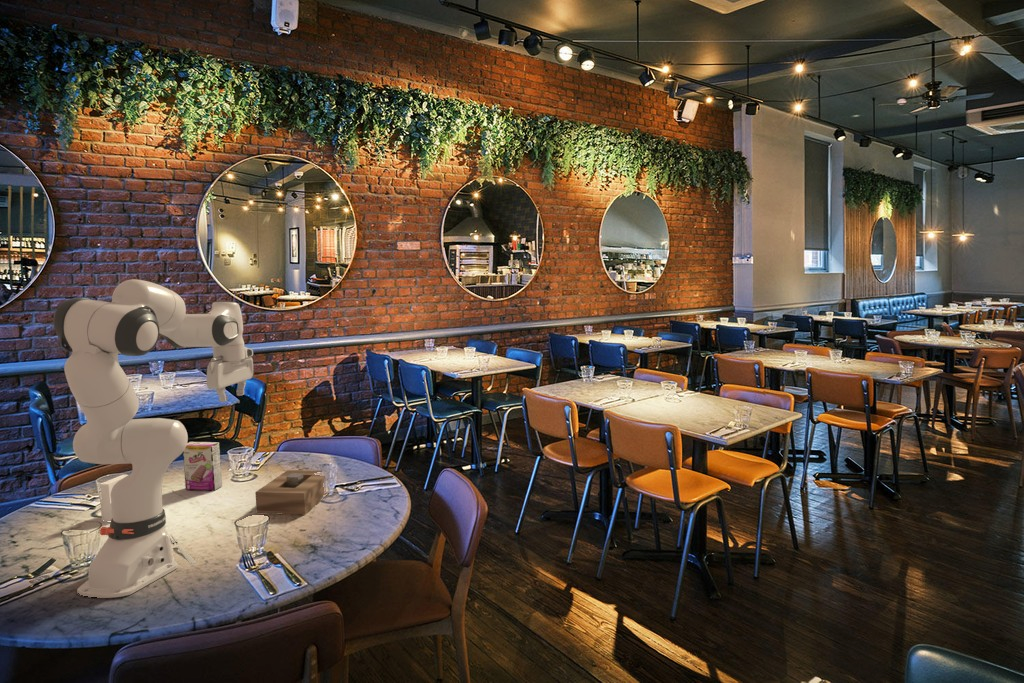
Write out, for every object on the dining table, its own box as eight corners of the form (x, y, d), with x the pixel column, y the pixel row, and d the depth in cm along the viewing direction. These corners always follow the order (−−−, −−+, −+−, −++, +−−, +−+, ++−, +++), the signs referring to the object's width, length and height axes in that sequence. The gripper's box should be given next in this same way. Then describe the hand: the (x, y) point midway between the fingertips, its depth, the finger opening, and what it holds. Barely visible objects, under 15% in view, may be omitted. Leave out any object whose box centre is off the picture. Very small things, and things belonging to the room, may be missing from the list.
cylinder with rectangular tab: (119, 522, 190) (116, 485, 189) (94, 521, 192) (91, 483, 191) (142, 511, 199) (139, 475, 198) (118, 510, 201) (115, 474, 199)
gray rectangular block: (299, 500, 203) (297, 477, 202) (287, 500, 204) (286, 477, 203) (304, 496, 207) (303, 473, 206) (293, 496, 208) (291, 473, 207)
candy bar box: (184, 490, 218) (181, 445, 216) (193, 485, 223) (190, 441, 221) (215, 491, 217) (211, 445, 215) (223, 486, 222) (219, 441, 220)
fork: (192, 570, 159) (191, 563, 159) (160, 543, 176) (160, 537, 176) (205, 565, 162) (204, 559, 161) (173, 539, 178) (172, 533, 178)
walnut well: (305, 514, 194) (304, 493, 193) (256, 513, 196) (255, 492, 195) (332, 490, 216) (331, 470, 215) (288, 489, 217) (287, 469, 217)
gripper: (219, 358, 179) (222, 405, 181) (255, 349, 199) (258, 392, 201) (199, 358, 180) (202, 405, 181) (237, 349, 200) (240, 392, 201)
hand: (232, 398), depth 191 cm, fingers open, 8 cm apart
